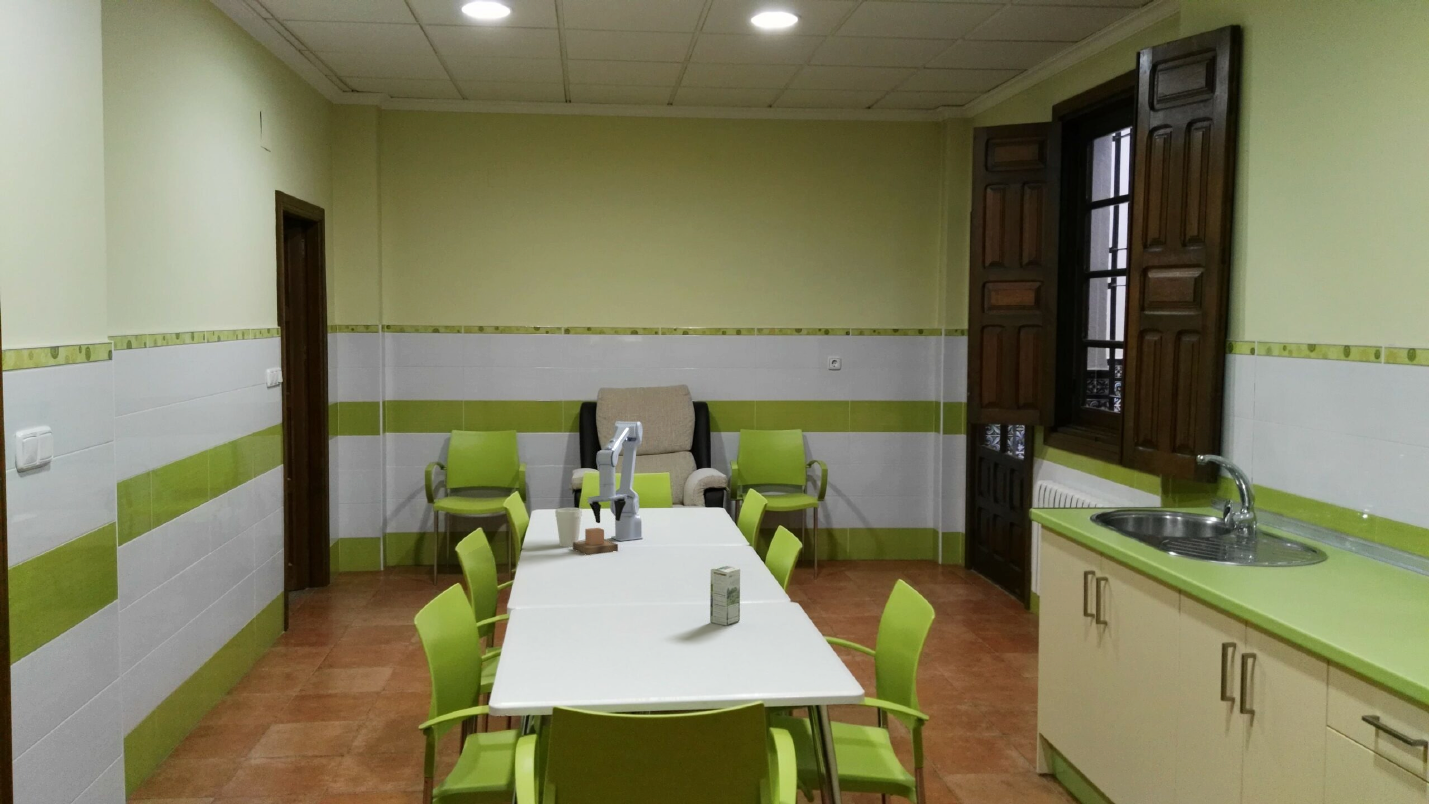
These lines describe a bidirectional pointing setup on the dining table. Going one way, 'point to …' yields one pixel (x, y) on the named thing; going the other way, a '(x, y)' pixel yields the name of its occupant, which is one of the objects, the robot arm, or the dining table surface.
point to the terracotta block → (594, 536)
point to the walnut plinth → (595, 547)
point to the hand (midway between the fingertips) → (607, 521)
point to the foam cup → (568, 525)
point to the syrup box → (725, 595)
